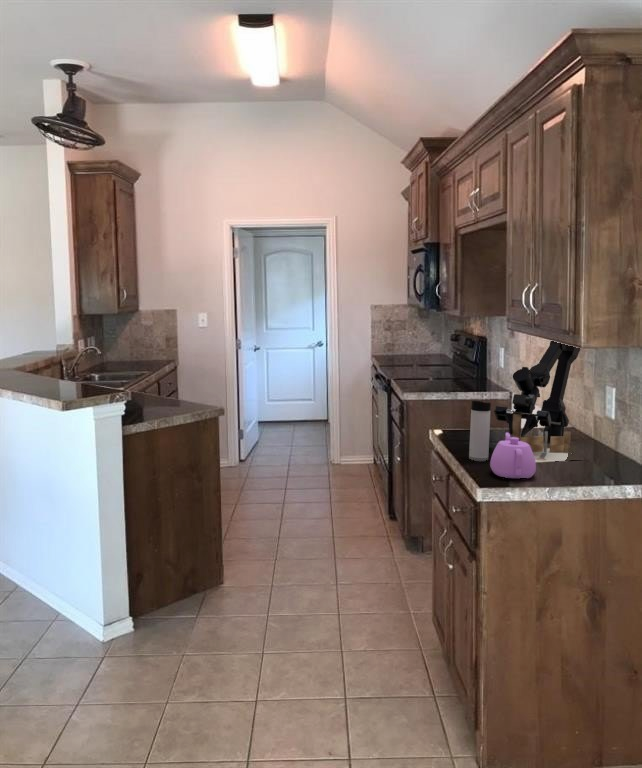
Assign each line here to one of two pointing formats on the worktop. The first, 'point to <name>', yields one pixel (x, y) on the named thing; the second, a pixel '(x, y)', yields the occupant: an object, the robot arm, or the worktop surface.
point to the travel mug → (479, 431)
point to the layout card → (549, 456)
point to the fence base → (558, 442)
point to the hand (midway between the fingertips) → (515, 435)
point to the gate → (533, 441)
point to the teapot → (513, 459)
